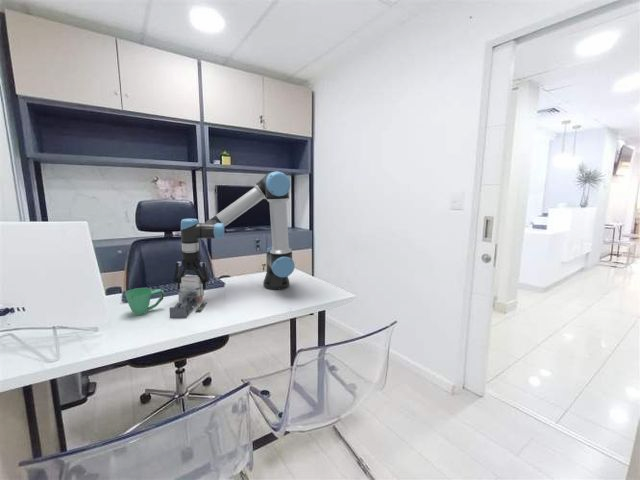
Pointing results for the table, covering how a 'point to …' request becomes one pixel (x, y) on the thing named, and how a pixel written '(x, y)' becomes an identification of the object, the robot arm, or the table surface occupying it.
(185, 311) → the gauge body
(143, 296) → the mug
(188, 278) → the ink box
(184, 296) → the white branched bar piece
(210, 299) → the table surface
